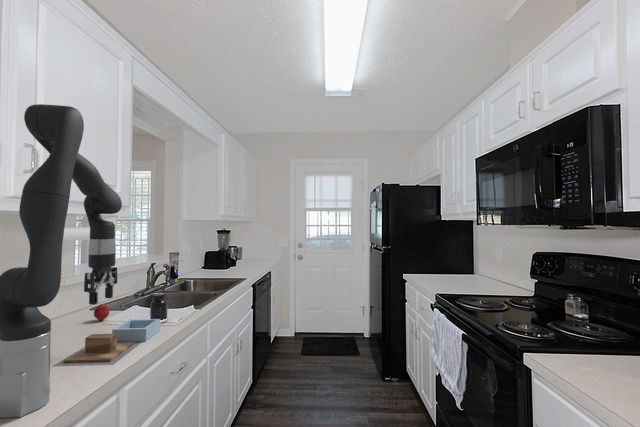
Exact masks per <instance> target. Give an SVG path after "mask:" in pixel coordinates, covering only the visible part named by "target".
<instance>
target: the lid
mask: <svg viewBox="0 0 640 427" xmlns="http://www.w3.org/2000/svg"><path fill="white" fill-rule="evenodd" d="M133 343H134V342H117V334H112V333H91V334H90V335H88V336H86V337H85V339H84V347H85V348H84V347H83V348H84V349H82V348H81V349H82V350H81V351H79V350H78V351H79V352H77V351H76V352H77V353H75V352H74V353H75V354H74V355H72V354H71V355H72V356H70V355H69V356H70V357H69V358H67V357H66V358H67V359H65V358H64V359H65V360H64V363H86V362H111V361H112V360H114V359H115V358H116V357H118V356H119V355H120V354H122V353H123V352H124V351H126V350H127V349H128V348H130V347H131V346H132V345H133Z"/></svg>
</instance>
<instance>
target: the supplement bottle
mask: <svg viewBox="0 0 640 427" xmlns="http://www.w3.org/2000/svg"><path fill="white" fill-rule="evenodd" d="M149 306H150V307H149V308H150V310H149V312H150V313H149V314H150V315H149V319H160V320H163V319H166V318H167V319H168V300H166V294H165V293H155V294H153V295H152V301H151V302H150V305H149Z"/></svg>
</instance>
